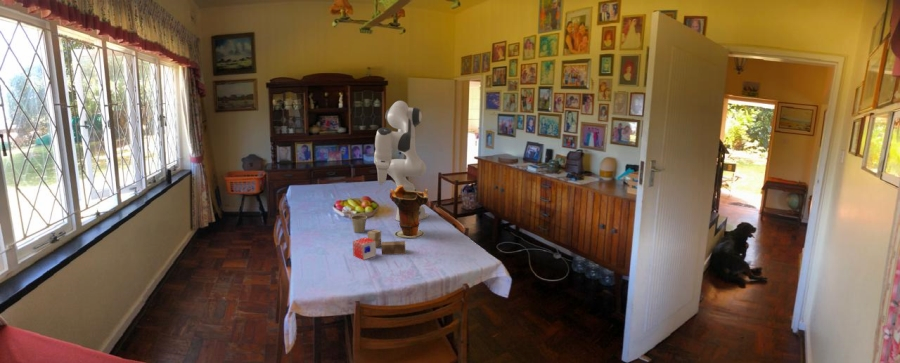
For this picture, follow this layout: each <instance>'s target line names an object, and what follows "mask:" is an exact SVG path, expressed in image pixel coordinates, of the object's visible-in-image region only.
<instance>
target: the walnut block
mask: <svg viewBox="0 0 900 363" xmlns="http://www.w3.org/2000/svg"><path fill="white" fill-rule="evenodd" d="M406 251H407V250H406V241H405V240H400V241H399V240H397V241H395V240H394V241H381V255H403V254H404V255H406Z"/></svg>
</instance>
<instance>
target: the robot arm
mask: <svg viewBox="0 0 900 363" xmlns="http://www.w3.org/2000/svg"><path fill="white" fill-rule="evenodd" d="M422 118H423V115H422V111H421V109H420V108H417V107H411V106H410V107H409V105H408V103H406V101H404V100H397V101H395V102H394V103H393V104H392V105H391V106H390V108H388V109H387V110H386V112H385V120H386V123H387V124H388V125H390V126H391V127H392V128H393V129H397V131H393V130H392V129H391V128H389V127H380V128H378V129H377V131H376V135H375V137H374V148H375V150H374V153H373V156H374V157H373V163H374V165H375V167H376V171H377V182H378V184H379V186H383V185H384V184H385V183H386V181H387V175H388V176H390V177H391V178H392V179H393V180H394V182H395V185H396V188H397V187H398V186H400V185H403V187H404V189H405V190H407V191H416V190H415V189H416V188H415V185H414V184H413V183H412V182H411V181H409V180H408V179H407V178H409V177H411V178H412V177H418V178H419V177H422V176H424V174H426V171H427V164H426V163H425V161H423V160H422V159H421V158H420V156H419V155H418V153H417V150H416V129H415V128H416V127H417V126H419V125H420V124H421V122H422ZM392 151H398V152H400V153H401V154H403V155H405V157H406V158H405V159H404V158H394V159H393V158H392V156H393V153H392ZM396 207H397V206H396ZM428 217H429V214H428V213H426V209H425V206H423V205H421V206H420V210H419V221H421V220H424V219H425V218H426V219H427V218H428ZM394 218H395V219H394V220H396V221H398V222H400V219H399V209H398V207H397V208H396V215H395V217H394Z"/></svg>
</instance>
